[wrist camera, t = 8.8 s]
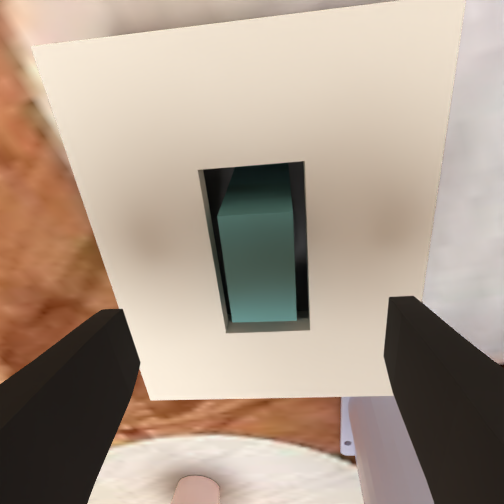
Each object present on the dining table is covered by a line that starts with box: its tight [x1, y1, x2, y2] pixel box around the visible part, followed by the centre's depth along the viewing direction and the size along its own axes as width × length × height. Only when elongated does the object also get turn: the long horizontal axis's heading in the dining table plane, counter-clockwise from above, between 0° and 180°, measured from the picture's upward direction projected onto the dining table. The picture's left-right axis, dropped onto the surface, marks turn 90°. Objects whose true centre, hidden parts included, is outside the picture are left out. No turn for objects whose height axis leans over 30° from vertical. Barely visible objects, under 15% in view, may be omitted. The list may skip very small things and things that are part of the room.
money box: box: [30, 0, 466, 400], centre depth 16 cm, size 15×12×6 cm
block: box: [217, 163, 297, 323], centre depth 16 cm, size 4×2×6 cm, turn 5°
